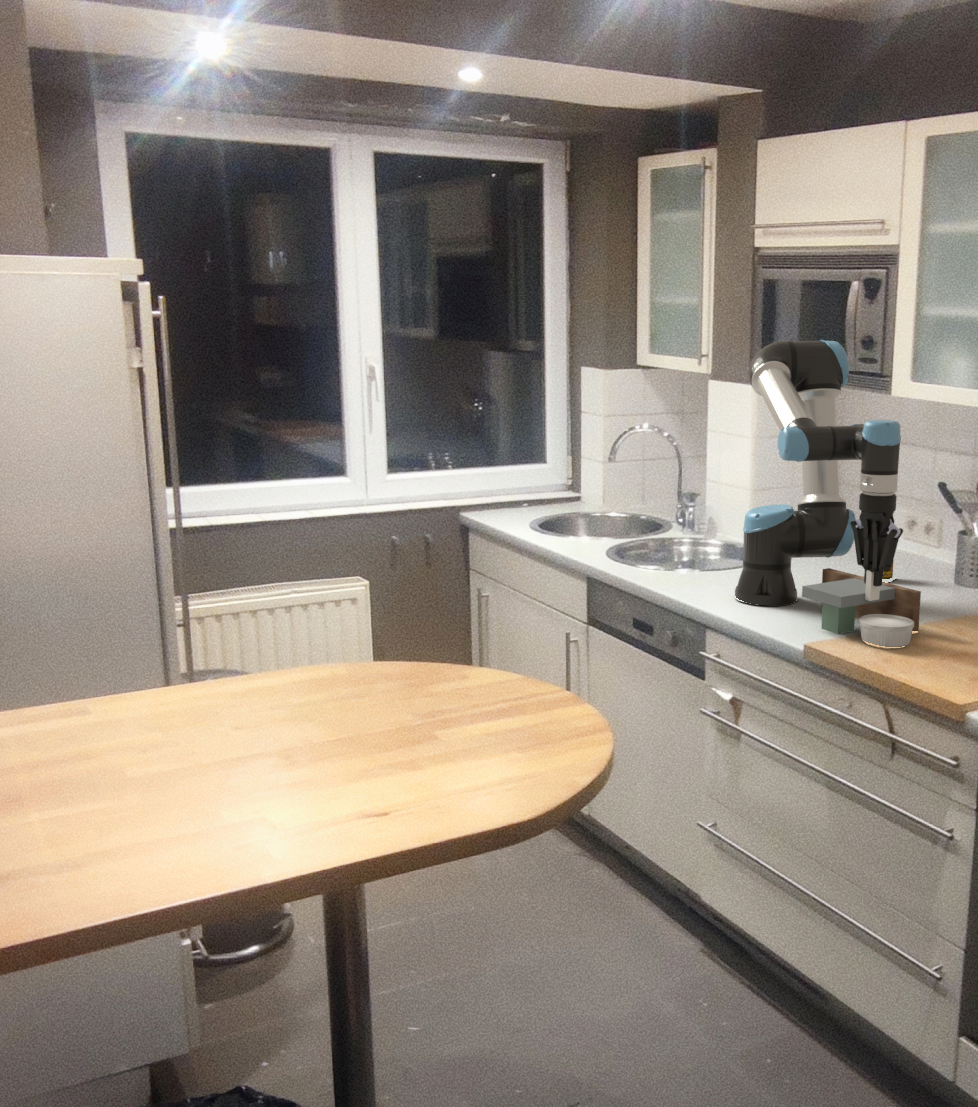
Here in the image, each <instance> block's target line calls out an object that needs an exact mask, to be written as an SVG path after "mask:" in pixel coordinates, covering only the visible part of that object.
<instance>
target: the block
mask: <svg viewBox="0 0 978 1107" xmlns="http://www.w3.org/2000/svg"><path fill="white" fill-rule="evenodd" d="M855 608H856V606H851V607H845V608H838V607H835V606H831V605H828V604H824V603H823V604H822V608H821V626H820V628H821V629H822V630H824V631H827V632H830V633H833V634H836V635H839V634H845V633H851V632H855V627H856V626H855V624H856V618H855Z"/></svg>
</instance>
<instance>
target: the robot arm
mask: <svg viewBox="0 0 978 1107" xmlns="http://www.w3.org/2000/svg"><path fill="white" fill-rule="evenodd" d="M849 373H850V365H849V358H848V355H847V351H846V349H845V348H844V347H843V345H842V344H841V343H839V342H838V341H835V340H824V339H819V340H817V339H816V340H792V341H790V340H789V341H788V340H787V341H786V340H780V341H775V342H772V343H770V344H767V345H766V346H764V347H763V348H761V349H760V350H758V352H757V353H756V355H755V356H754V357H753V359H752V360H751V362H750V366H749V368H748V378H749V382H750V386H751V388H752V389H753V391H754V392H755V393H756V394H757V395H759V396H761V397H762V398H763V401H764V403H765V404H766V405H765V406H766V407H767V408H768V410H769V412H770V414H771V416H772V417H773V420H774V422H775V423H776V425H777V427H778V429H779V433H778V436H777V449H778V455H779V457H780V458H781V459H782V460H783V461H785V462H786V461H787V462H798V463H801V468H802V470H801V471H802V492H803V494H802V495H803V496H802V498H801V500H800V501H799V502H797V510H795V509H794V507H793V506H792V505H789V504H768V505H760V506H758V507H755V508H754V507H753V508H751V509H750V510H748V511H747V513H745V515H744V522H743V529H742V530H743V551H742V552H743V553H742V570H741V573H740V576H739V579H738V582H737V585H736V587H735V588H734V597H735V596H736V598H738V599H739V600H742V601H744V602H747V603H751V604H750V605H752V604H758V605H757V606H760V605H769V606H768V607H778V606H777V605H782V606H788V605H787V604H789V605H792V604H795V603H796V602H797V601H798V589H797V587H796V584H795V580H794V577H793V573H792V559H793V558H798V559H799V558H827V559H828V558H832V557H833V558H834V557H843V556H845V555H846V554H848V553H849V552H850V550H851V549H852V548H853V547H852V546H853V544H854V546H855V555H856V556H855V557H856V562H857V565H858V566H860V567H862V568H863V569H864V576H863V577H864V583H865V584H866V590H865V600H868V601H873V600H879V594H880V586H881V585H882V577H883V571H884V570H889V569H891V567H892V563H893V564H894V561H893V560H894V559H895V554H896V550H897V548H898V543H899V541H900V538H901V536H902V535H903V533H904V529H903V528H902V527H899V528H898V527H897V525H896V524H895V519H894V513H895V512H896V509H897V495H896V493H897V492H898V480H899V479H898V476H899V464H900V450H901V448H900V447H901V441H902V436H901V424H900V423H899V421H896V420H890V419H871V420H866V421H865V422H864V423H860V424H859V423H853V424H850V425H840V426H839V425H837V418H836V417H837V416H836V415H837V414H836V413H837V412H836V399H837V398H838V397H839V396H840V395H841V393H842V388H843V387H845V386H846V385H847V384H848V381H849ZM839 461H861V465H860V466H861V467H860V486H859V488H860V489H859V491H861V493H860V494H859V499H858V500H859V502H858V503H859V504H858V509H859V511H861V512H860V514H859V518H856V517H855V516H856V514H855V512H854V511H853V510H852V509H849V508H847V501H846V500H845V499H844V498H843V497H841V495H840V482H839V481H840V480H839V479H840V478H839V463H838V462H839ZM796 600H797V601H796ZM794 602H795V603H794ZM791 603H792V604H791ZM770 605H771V606H770ZM772 605H773V606H772ZM775 605H776V606H775Z"/></svg>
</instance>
